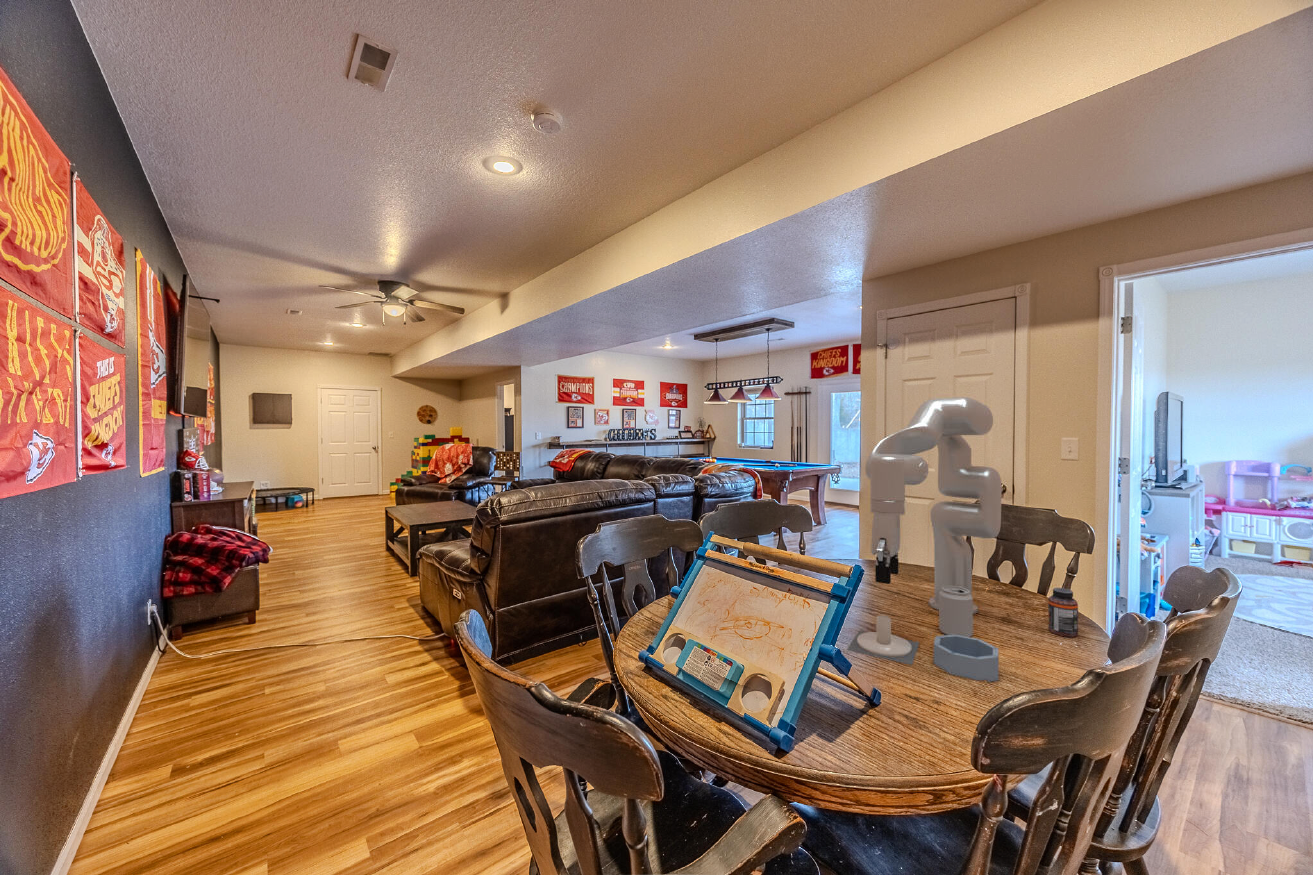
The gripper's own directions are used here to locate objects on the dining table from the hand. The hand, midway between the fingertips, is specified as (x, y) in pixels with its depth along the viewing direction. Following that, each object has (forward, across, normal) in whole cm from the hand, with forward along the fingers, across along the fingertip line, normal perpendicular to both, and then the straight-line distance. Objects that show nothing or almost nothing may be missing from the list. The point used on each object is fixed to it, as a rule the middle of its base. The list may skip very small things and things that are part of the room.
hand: (887, 577), depth 119 cm
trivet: (+18, -1, -1) cm, 18 cm away
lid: (+17, -1, -1) cm, 17 cm away
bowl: (+18, 0, +16) cm, 24 cm away
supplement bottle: (+17, -37, +35) cm, 54 cm away
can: (+18, -20, +13) cm, 30 cm away
